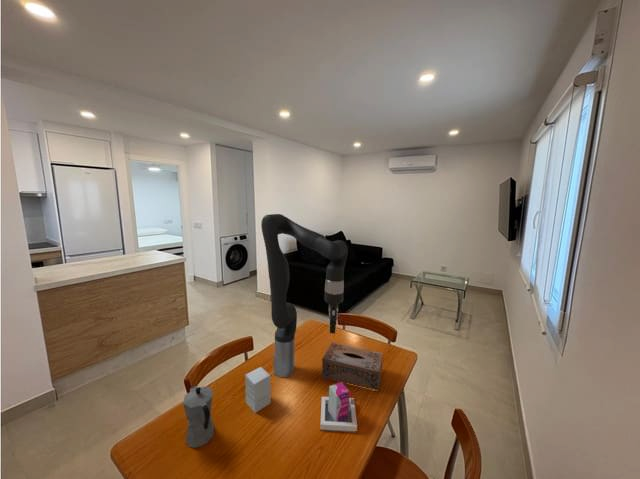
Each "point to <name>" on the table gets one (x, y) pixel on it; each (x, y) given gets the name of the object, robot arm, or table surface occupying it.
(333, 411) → the supplement box
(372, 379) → the tissue box cover
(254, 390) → the supplement box
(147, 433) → the table surface
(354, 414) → the socket plate
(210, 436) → the coffeepot
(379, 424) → the table surface
